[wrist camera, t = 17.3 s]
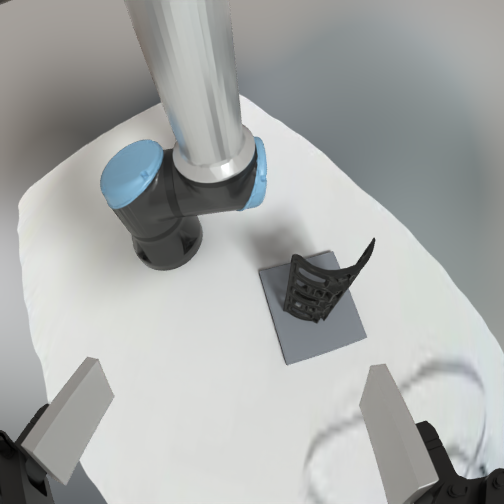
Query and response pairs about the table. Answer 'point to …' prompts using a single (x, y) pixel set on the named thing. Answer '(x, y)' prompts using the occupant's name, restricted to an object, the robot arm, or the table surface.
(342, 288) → the holder
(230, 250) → the table surface
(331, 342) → the mat
